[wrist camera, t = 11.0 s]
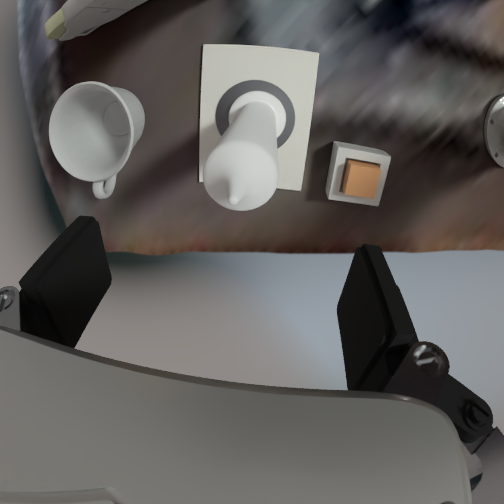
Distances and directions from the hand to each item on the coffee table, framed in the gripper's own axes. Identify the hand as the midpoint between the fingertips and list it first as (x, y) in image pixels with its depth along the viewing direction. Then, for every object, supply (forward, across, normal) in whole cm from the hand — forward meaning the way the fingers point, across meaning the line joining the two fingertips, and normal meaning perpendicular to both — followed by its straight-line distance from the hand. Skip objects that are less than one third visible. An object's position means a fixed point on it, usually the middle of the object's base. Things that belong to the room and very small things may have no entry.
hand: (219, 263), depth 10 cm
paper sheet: (+31, +1, 0) cm, 31 cm away
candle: (+30, +1, 0) cm, 30 cm away
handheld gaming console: (+31, +19, -16) cm, 40 cm away
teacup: (+30, +19, +2) cm, 36 cm away
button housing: (+31, -13, +6) cm, 34 cm away
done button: (+28, -13, +6) cm, 32 cm away
